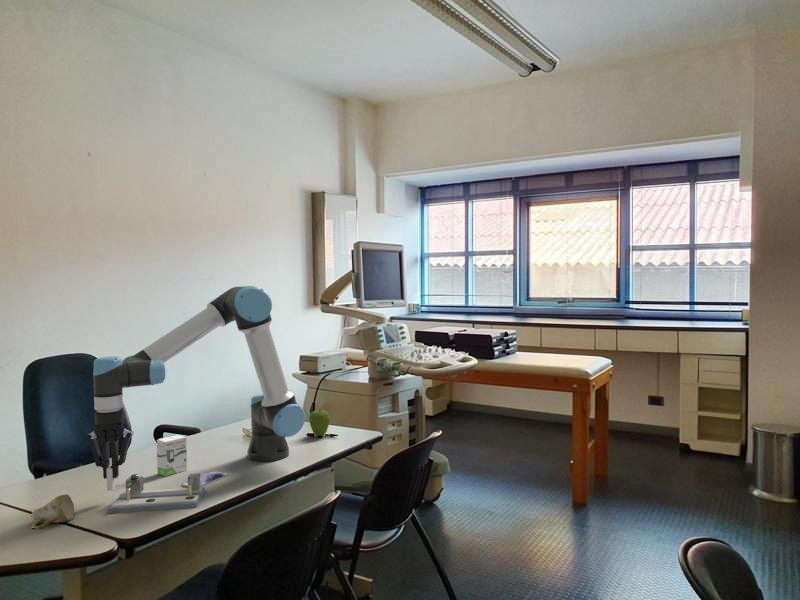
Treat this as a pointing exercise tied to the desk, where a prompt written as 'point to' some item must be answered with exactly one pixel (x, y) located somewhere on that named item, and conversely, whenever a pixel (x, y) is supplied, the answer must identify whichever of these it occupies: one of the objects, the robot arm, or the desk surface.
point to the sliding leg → (134, 485)
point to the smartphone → (208, 478)
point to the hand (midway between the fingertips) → (111, 488)
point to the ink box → (171, 455)
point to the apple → (319, 422)
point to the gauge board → (161, 498)
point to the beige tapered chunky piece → (54, 511)
